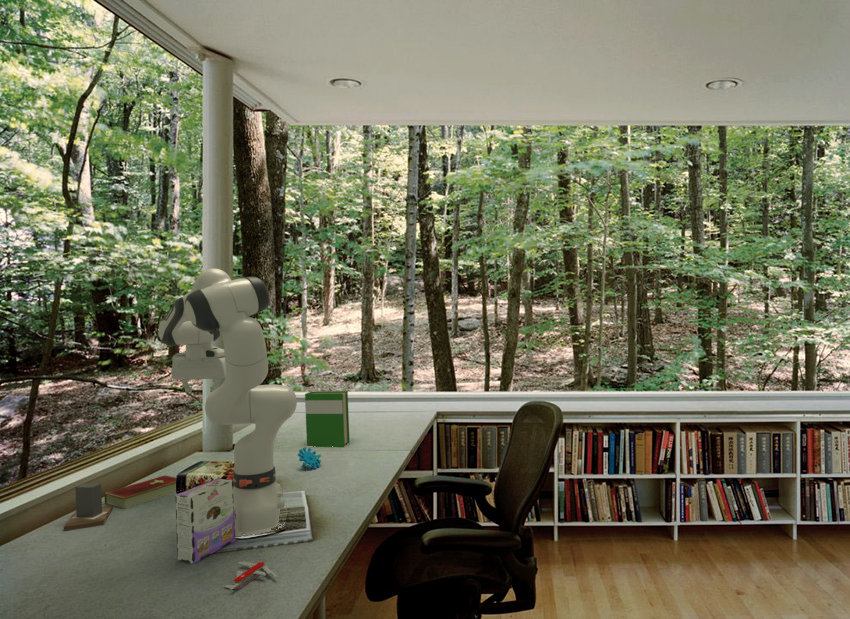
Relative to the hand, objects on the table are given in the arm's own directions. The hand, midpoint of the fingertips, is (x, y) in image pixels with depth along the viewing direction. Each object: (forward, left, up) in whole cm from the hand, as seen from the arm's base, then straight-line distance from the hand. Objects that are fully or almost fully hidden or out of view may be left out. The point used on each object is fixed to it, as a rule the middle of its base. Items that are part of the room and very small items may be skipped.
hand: (201, 392), depth 186 cm
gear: (+10, -38, -34) cm, 52 cm away
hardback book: (+43, -51, -34) cm, 75 cm away
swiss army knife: (-74, -11, -34) cm, 82 cm away
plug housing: (-13, +32, -33) cm, 48 cm away
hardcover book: (+3, +19, -35) cm, 40 cm away
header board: (-13, +32, -34) cm, 49 cm away
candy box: (-53, -2, -34) cm, 63 cm away
